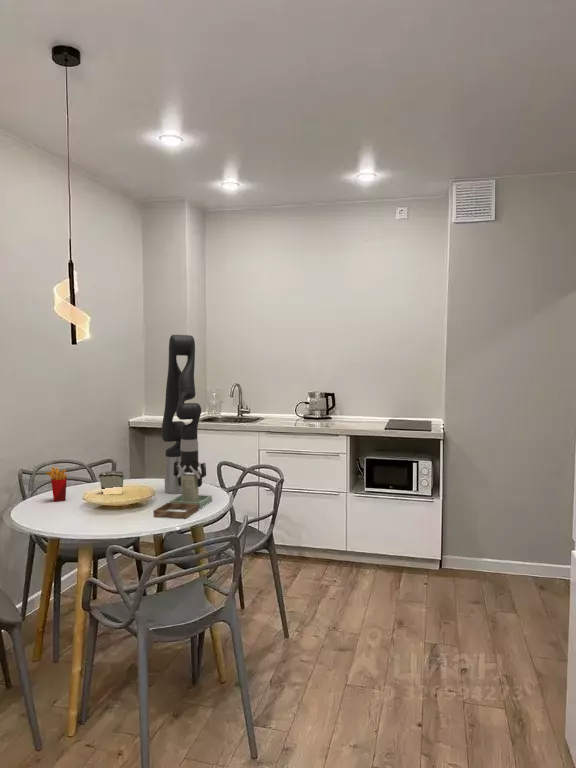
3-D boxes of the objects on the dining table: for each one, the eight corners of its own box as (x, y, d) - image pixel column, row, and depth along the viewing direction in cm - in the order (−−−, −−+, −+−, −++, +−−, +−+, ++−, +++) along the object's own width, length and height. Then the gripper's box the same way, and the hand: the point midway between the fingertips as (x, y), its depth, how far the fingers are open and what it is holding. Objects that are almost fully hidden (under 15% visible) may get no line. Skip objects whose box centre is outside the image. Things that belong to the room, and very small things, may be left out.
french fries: (67, 497, 275) (66, 465, 274) (67, 501, 268) (66, 468, 267) (46, 499, 272) (45, 466, 271) (46, 504, 264) (45, 470, 263)
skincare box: (199, 501, 262) (198, 474, 261) (195, 504, 258) (194, 476, 257) (185, 501, 264) (185, 473, 263) (181, 503, 259) (180, 475, 259)
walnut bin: (153, 516, 241) (153, 510, 241) (167, 508, 254) (167, 502, 254) (185, 518, 238) (185, 512, 238) (198, 510, 251) (198, 504, 250)
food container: (129, 491, 285) (128, 470, 285) (124, 494, 279) (123, 473, 279) (104, 491, 287) (103, 470, 286) (99, 494, 280) (98, 473, 280)
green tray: (169, 507, 256) (169, 501, 256) (182, 499, 269) (182, 494, 268) (200, 508, 253) (200, 503, 252) (211, 501, 265) (211, 495, 265)
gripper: (208, 448, 261) (208, 485, 262) (177, 447, 264) (178, 483, 266) (201, 451, 254) (202, 489, 255) (170, 450, 257) (171, 487, 258)
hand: (190, 486), depth 260 cm, fingers open, 8 cm apart
